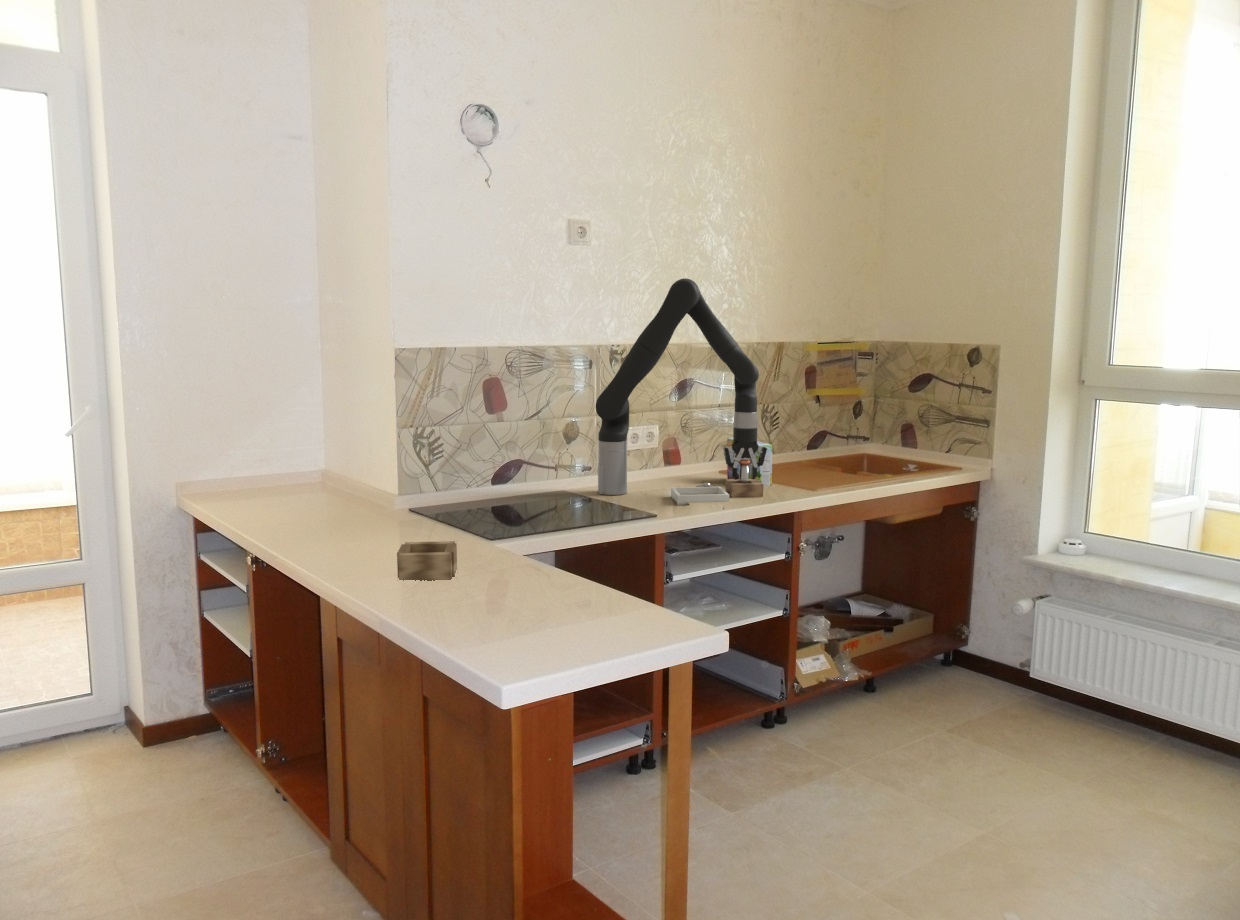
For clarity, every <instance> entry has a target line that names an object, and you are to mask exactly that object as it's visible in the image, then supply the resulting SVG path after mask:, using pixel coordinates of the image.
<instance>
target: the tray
mask: <svg viewBox="0 0 1240 920" xmlns="http://www.w3.org/2000/svg"><path fill="white" fill-rule="evenodd" d="M670 497H671V498H672V500H673V501H674V503H675V504H676V505H677V506H690V503H706V502H707V503H708V502H709V503H711V502H713V503H714V502H715V503H716V502H717V503H718V502H721V503H722V502H730V496H729V494H728V493H727V492H726V491H725V489H724V488H723V487H722V486H717V487H696V486H681V487H680V486H679V487H678V486H677V487H676V486H674V487H670Z"/></svg>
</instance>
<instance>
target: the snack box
mask: <svg viewBox="0 0 1240 920" xmlns="http://www.w3.org/2000/svg"><path fill="white" fill-rule="evenodd" d="M726 442H727V443H726V444H727V445H726V447H730V446H732V444H733V436H732V437H727V441H726ZM757 444H758V446H761V447H763V446H764V447H766V448H767V451H766V455H765V459H764V463H763V465H762V466H759V467H757V477H756V478H755V479H757V480H758V481H760V482H761V483H762V484H763V487H769V486H770V487H771V486H772V483H773V482H772V481H773V480H772V478H773V444H770V443H766V442H762V441H758V440H757ZM729 455H730V460H731V462H732V463H733V460H734V457H735V452H734V451H733V450H731V453H730V454H729ZM759 455H760V453H759V449H758V450H757V451H756V452H755V454H754V456H755V459H756V462H758V460H759ZM741 459H749V458H741ZM749 460H750V459H749ZM726 465H727V464H726ZM739 466H740V464H739V463H738V465H737V479H739ZM726 467H727V470H726V473H727V474H726V475H727V476H726V479H734V478H733V477H732V467H731V466H728V465H727V466H726ZM751 467H752V463H751V464H750V474H749V479H751Z"/></svg>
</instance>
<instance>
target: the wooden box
mask: <svg viewBox="0 0 1240 920" xmlns="http://www.w3.org/2000/svg"><path fill="white" fill-rule="evenodd" d="M724 490H725V491H726V492H727V493H728V494H729V497H730V498H734V499H735V498H764V486H763V484H762V483H761V482H760V481H758V480H757V479H749V483H739V479H737V480H735V479H727V478H725V489H724Z"/></svg>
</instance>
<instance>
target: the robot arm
mask: <svg viewBox="0 0 1240 920" xmlns="http://www.w3.org/2000/svg"><path fill="white" fill-rule="evenodd" d="M686 315H689V317H690V319H692V320H693V321H694V323H695V324H696V325H697V327H698V328H699V330H700V332H701V333H702V335H703V336H704V338H705V340H706V341H707V343H708V344H709V345H710V347H711V348H712V349H713V350H712V351H714V353H715V354H716V355H717V356H718V357H719V359H720V360H721V361H722V362H723V363H724V364H725V365H726V366H727V367H728V368H729V370H730V372H731V373H732V374H733V375H734V376H733V377H734V381H733V383H734V391H735V392H734V393H735V397H734V398H735V399H734V415H733V423H732V425H733V431H732V433H733V435H732V437H733V444H732V446H730V447H727V446H724V447H722V451H723V455H724V459H725V464H726V465H728V466H731V467H732V477H733V478H734V479H735V480H737V465H738V463H739V461H740V459H741V458H749V459H750V460H751V463H752V467H751V479H755V478H756V477H757V467H759V466H762V465H763V463H764V459H765V455H766V451H767V448H766V447H764V446H763V447H761V446H758V444H757V441H758V425H759V423H758V421H759V420H758V419H759V418H758V396H757V391H756V390H757V389H756V388H757V381H758V380H759V376H760V373H759V369H758V368H757V366H756V365H755V364H754V362H753V361H752V360H751V359H750V357H748V355H747V354H746V353H745V352H744V351H743V349H742V348H741V346H740V345H739V344H738V342H737V341H736V340H735V339H734V337H733V336H732V335H731V333H730V332H729V331H728V329H727V328H726V327H725V326H724V325H723V324H722V322H721V321H720V320H719V319H718V318H717V316H716V315H715V313H714V312H713V311H712V309H711V308H710V306H709V304H708V303H707V302H706V299H705V298H704V296H703V294H702V292H701V291H700V287H699V286H698V284H697V282H695V281H694V280H692V279H690V278H680V279H678V280H676V281H674V283H672V285H671V286H670V288H669V290H668V292H667V294H666V297H665V298H664V300H663V302H662V304H661V306H660V308H659V310H658V311H657V313H656V315H655V316H654V317H653V318H652V320H650V322H649V323H648V324H647V326H646V327H645V328H644V330H643V331H642V332H641V333H640V335H639V336H638V337H637V338H636V340H635V342H634V344H633V345H632V346H631V348H630V350H629V352H628V354H627V355H626V356H625V359H624V360H623V361H622V363H621V365H620V367H619V369H618V370H617V372H616V374H615V376H614V377H613V379H612V380H611V381H610V382H609V383H608V385H607V386H606V387H605V388H604V389H603V391H602V392H601V394H599V396H598V397H597V398H596V402H595V412H596V414H597V416H598V417H599V418H600V419H601V426H600V430H599V432H598V462H597V492H598V495H605V496H606V495H607V496H617V495H619V496H620V495H625V494H627V493H628V485H627V484H628V433H629V427H630V402H629V397H630V396H631V394H632V393H633V391H634V390H635V389H636V387H637V386H638V385H639V384H640V383H641V381H643V380H644V378H645V377H647V375H649V374H650V372H651V371H652V370H653V369H654V368H655V366H656V365H657V364H658V362H659V361H660V359H661V357H662V356H663V354H664V353H665V351H666V349H667V348H668V345H669V343H670V341H671V340H672V337H673V335H674V333H675V330H677V327H678V326H679V324H680V323H681V322H682V320H683V319H685V318H684V317H686ZM758 449H759V453H760V455H759V460H758V462H756V459H755V456H754V454H755V452H756V451H757V450H758ZM731 450H733V451H734V452H735V457H734V460H733V463H732V462H731V460H730V455H729V454H730V453H731Z"/></svg>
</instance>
